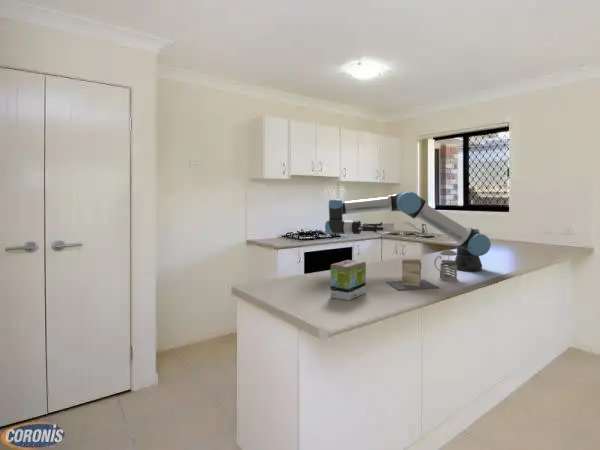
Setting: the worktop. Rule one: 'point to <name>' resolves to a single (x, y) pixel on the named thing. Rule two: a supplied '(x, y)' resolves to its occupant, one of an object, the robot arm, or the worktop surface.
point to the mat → (423, 285)
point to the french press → (451, 266)
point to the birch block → (411, 272)
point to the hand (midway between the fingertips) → (392, 227)
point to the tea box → (348, 279)
